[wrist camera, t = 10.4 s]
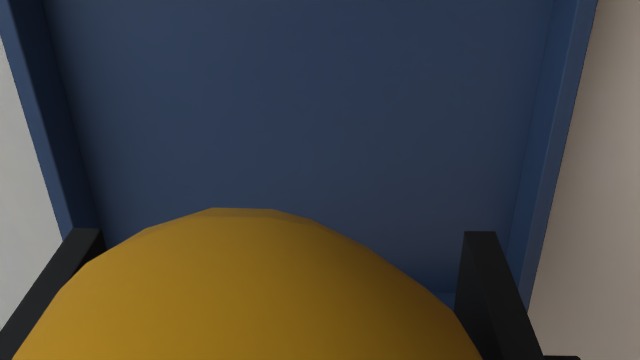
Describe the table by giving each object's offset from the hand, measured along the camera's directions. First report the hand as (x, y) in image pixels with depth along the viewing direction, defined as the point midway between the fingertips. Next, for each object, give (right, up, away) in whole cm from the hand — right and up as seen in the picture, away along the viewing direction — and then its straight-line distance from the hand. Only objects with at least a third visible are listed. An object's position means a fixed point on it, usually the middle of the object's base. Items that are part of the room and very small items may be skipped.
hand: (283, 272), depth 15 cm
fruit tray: (0, +4, +7) cm, 8 cm away
